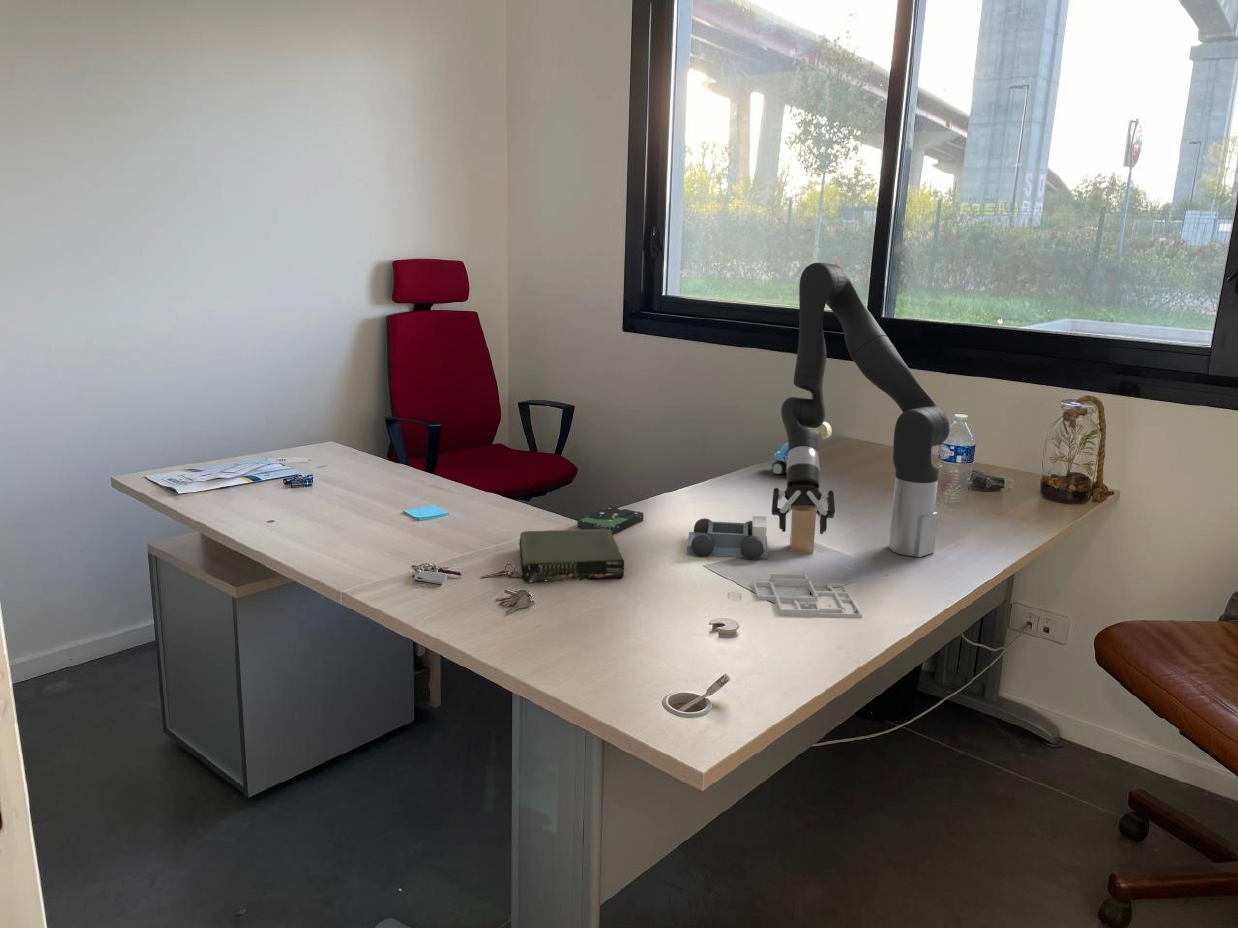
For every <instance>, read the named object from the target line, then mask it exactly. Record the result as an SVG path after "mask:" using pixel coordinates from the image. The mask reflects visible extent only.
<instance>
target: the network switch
mask: <svg viewBox="0 0 1238 928" xmlns="http://www.w3.org/2000/svg"><path fill="white" fill-rule="evenodd" d="M518 545H519V555H520V556H519V557H520V569H521V578H522V580H523V582H524V581H525V582H530V581H534V582H538V581H545V580H547V582H548V581H550V580H552V581H561V580H562V581H568V580H570V581H572V579H573V580H577V579H578V580H579V581H582V580H585V579H599V578H609V579H610V578H619V579H620V578H621V579H623V578H624V575H625V560H624V558H623V557H622V554H621V552H620V549H619V547H618V545H617V542H616V539H615V537H614V535H612V531H610V530H605V529H592V530H582V529H559V530H558V529H557V530H556V529H554V530H550V529H549V530H526V531H522V532H521V533H520V536H519V543H518ZM581 579H582V580H581ZM525 582H524V583H525ZM545 582H546V581H545ZM530 583H531V582H530Z"/></svg>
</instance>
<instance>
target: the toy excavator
mask: <svg viewBox="0 0 1238 928" xmlns="http://www.w3.org/2000/svg"><path fill="white" fill-rule="evenodd" d="M808 429H810V430H813V431H814V432H815V433H816V434H817V435H818V434H820V435H821V439H822V440H826V439H827V438H830V437H831V435H832V432H833V431H832V426H831V425H830V423H829V422H827V421H824V422H823V423H822V425H821V426H820V427H818V428H808ZM773 459H774V460H775V462H773V463H772V464H771V472H772V473H773V474H774V475H782V474H785V473H786V474H787V459H788V442H786V443H785V444H782V446H781V448H780V450H778V451H776V452H775V453H774V456H773Z"/></svg>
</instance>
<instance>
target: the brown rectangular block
mask: <svg viewBox="0 0 1238 928" xmlns="http://www.w3.org/2000/svg"><path fill="white" fill-rule="evenodd" d="M816 518H817V514H816V509H815V505H802V504H792V510H791V522H790V539H789V549H790V552H791V553H795V554H796V553H798V554H801V553H802V554H814V548H815V547H814V546H815V537H816V536H815V533H816V532H815V531H816V520H817V519H816Z"/></svg>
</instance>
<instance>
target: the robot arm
mask: <svg viewBox="0 0 1238 928" xmlns="http://www.w3.org/2000/svg"><path fill="white" fill-rule="evenodd" d="M853 283H854V282H853V281H852V280H851V278H850V276H849V274H848V273H847V271H846V270H845V269H844V268H843V267H842V266H840V265H838V264H835V263H834V264H833V263H825V262H814V263H811V264H808V265H807V266H806V267H805V268H804V270H802V273H801V275H800V278H799V291H798V292H799V293H798V294H799V295H798V297H799V299H798V300H799V303H798V304H799V315H798V317H799V319H798V320H799V321H798V322H799V326H798V327H799V329H798V347H797V356H796V362H795V369H794V375H793V384H794V386H795V387H796V388H799V389H801V390H805V391H807V392H809V393H810V394H811V398H805V397H804V398H803V397H795V396H794V397H793V396H791V397H790V396H789V397H788V398H786V399H785V400H784V401H783V403H782V404H781V408H780V411H781V413H780V414H781V419H782V420H781V421H782V422H783V426H784V429H785V431H786V436H787V441H788V442H787V443H788V459H787V473H786V490H783V489H782V490H780V489H779V488H778V487H775V488H773V493H772V504H771V505H772V506H771V515H772V516H778V518H779V519H778V520H779V521H778V528H779V530H781V532H782V533H786V528H787V526H786V525H787V515H788V513H790V512H792V504H802V505H815V509H816V516H818V517H819V535H824V533H825V532H826V530H827V528H828V527H827V526H828V525H827V524H828V523H827V521H828V519H833V518H834V517H835V513H836V507H835V494H834V490H829V491H828V492H822V491H821V489H820V459H819V437H818V434H816V433H815V432H814V431H813V430H810V429H809V428H818V427H820V426H821V425H822V423H823V422H825V418H826V410H825V409H826V408H825V407H826V406H825V401H824V394H823V393H824V391H823V390H824V389H823V387H824V386H823V385H824V384H823V383H824V376H825V371H826V365H827V363H826V362H827V345H826V340H825V337H824V336H825V334H824V322H823V321H824V313H825V308H826V305H827V307H828V308H829V309H830V311H832V313H833V314H834V316H835V317H836V318H837V320H838V322H839V323H840V325H841V328H842V331H843V336H844V341H845V345H846V348H847V351H848V354H849V355H850V357H851V359H852V361H853V362H854V363H855V365H856V366H857V368H858V370H859V371H860V372H861V374H862V376H863V377H865V378H866V379H867V380H868V381H869V382H870V383H871V384H873V385H874V386H876V387H877V388H878V389H879V390H881V391H882V392H884V393H885V395H887V396H889V397H890V398H891V399H892V400H893V401H894V402H895V403H896V405H897V406H898V408H899V409H900V411H901V412H902V413H901V414H900V415H899V416H898V417H897V420H896V422H895V425H894V433H893V452H892V454H893V455H892V461H893V465H894V469H895V475H894V476H895V477H894V486H893V487H894V488H893V496H892V498H893V499H892V506H891V519H890V531H889V541H888V549H889V550H890V551H892V553H896V554H899V555H903V556H908V557H909V556H910V557H916V558H921V557H923V556H927V555H930V554H933V553H935V548H936V541H937V540H936V539H937V529H938V522H939V521H938V519H939V513H938V512H937V511H936V501H937V490H938V482H939V481H938V480H939V473H940V471H939V467H938V466H937V465H936V464H933V463H932V449H933V448H932V447H936V446H939V445H941V444H943V443H944V442H946V440H947V439H948V438H949V435H950V422H949V419H948V417H947V414H946V413H945V412H944V411H943V409H942V408H941V407H940V405H938V404H937V402H936V401H935V400H934V399H933V397H932V396H931V395H930V394H929V393H928V392H927V391H926V389H924V387H923V386H922V385H921V383H920V382H919V381H918V379H917V378H916V376H915V375H914V374H913V372H912V371H911V369H910V367H908V365H907V363H906V362H905V361H904V360H903V358H902V356H901V355H900V354H899V352H898V350H897V349H896V347H895V345H894V344H893V343H892V341H891V340H890V339H889V336H888V335H887V334H886V333H885V331H884V330H883V329H882V327H881V326H880V325H879V323H878V322H877V320H876V319H875V317H874V316H873V314H872V313H871V312H870V311H869V309H868V307H867V306H866V305H865V303H864V301H863V300H862V298H861V296H860V294H859V293H858V291H857V289H856V286H855V285H854V284H853ZM783 497H784V498H785V500H787V501H786V502H785V504H784V505H783V506H781V508H779V507H778V505H779V504H778V503H779V500H782V498H783ZM821 499H823V500H824V502H825V503H827V510H826V509H825V508H824V507H823V505H822V503H821V502H820V500H821Z"/></svg>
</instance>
